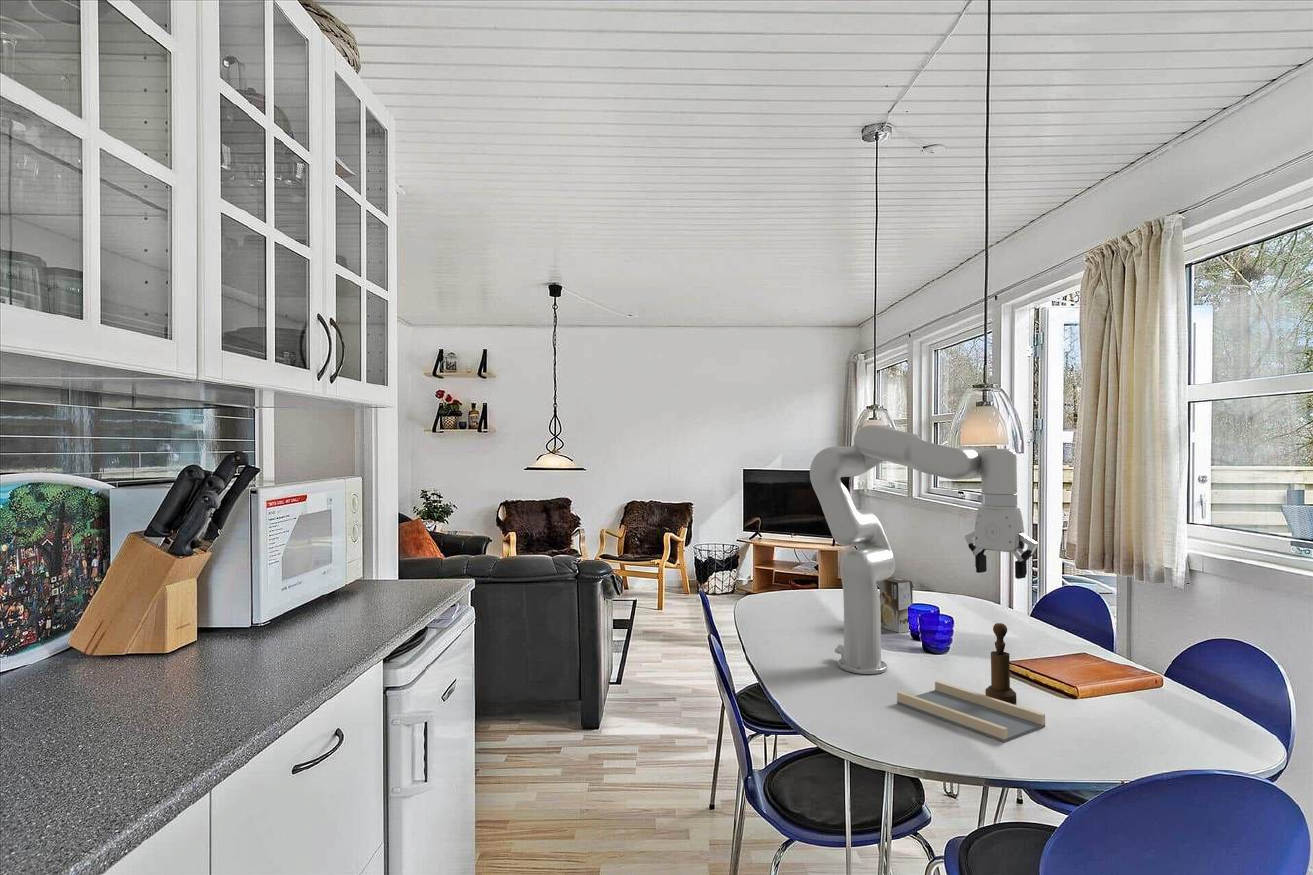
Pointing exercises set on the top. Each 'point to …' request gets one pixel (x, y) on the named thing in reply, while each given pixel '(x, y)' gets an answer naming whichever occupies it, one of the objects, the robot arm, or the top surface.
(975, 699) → the grey tray beige rails
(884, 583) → the coffee box
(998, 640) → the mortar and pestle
